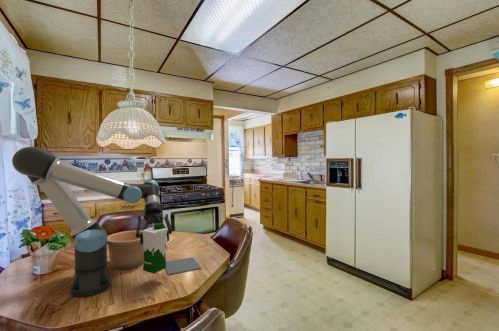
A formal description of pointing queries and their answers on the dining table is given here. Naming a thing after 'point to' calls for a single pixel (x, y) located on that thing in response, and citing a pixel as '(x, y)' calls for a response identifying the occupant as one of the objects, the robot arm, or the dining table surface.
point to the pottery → (125, 250)
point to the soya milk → (155, 248)
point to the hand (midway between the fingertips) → (155, 248)
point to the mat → (181, 266)
